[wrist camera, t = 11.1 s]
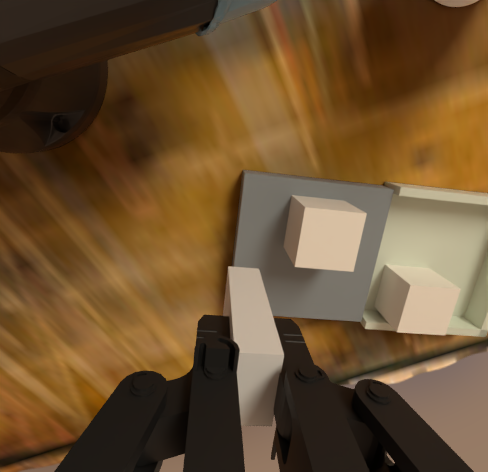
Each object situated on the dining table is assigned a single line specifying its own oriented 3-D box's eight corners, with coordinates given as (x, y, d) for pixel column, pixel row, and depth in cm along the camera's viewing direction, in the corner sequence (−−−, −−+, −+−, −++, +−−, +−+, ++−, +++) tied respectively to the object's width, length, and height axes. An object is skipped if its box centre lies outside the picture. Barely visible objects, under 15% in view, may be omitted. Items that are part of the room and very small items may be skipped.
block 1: (283, 246, 32) (294, 266, 28) (291, 194, 31) (305, 207, 26) (333, 251, 33) (353, 271, 28) (344, 200, 32) (366, 213, 27)
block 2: (374, 306, 37) (396, 332, 33) (385, 264, 36) (410, 285, 31) (416, 309, 38) (445, 335, 33) (429, 268, 36) (460, 289, 32)
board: (227, 300, 37) (228, 312, 34) (242, 169, 32) (244, 173, 30) (352, 309, 38) (361, 321, 36) (381, 185, 34) (394, 189, 32)
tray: (353, 312, 38) (364, 328, 35) (384, 181, 34) (401, 186, 31) (464, 320, 40) (485, 336, 37) (508, 195, 35) (536, 202, 32)
